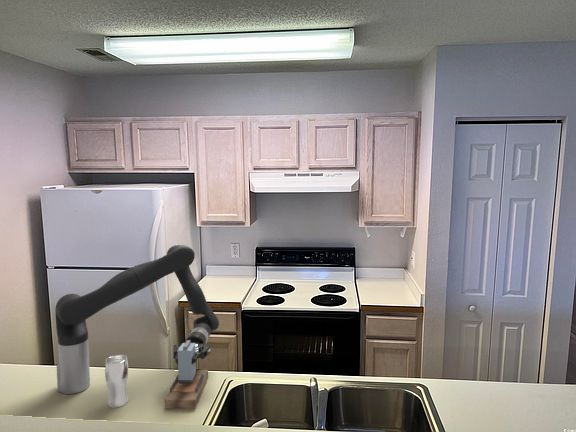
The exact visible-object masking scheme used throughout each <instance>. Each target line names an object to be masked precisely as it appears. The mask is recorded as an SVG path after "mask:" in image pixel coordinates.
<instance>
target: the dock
mask: <svg viewBox="0 0 576 432" xmlns="http://www.w3.org/2000/svg"><path fill="white" fill-rule="evenodd" d="M208 379H209V369H196V376H195V377H194V378H193V382H192V384H179V383H178V374H177V375H176V376H175V378H174V380H173V382H172V384H171V386H170V387H169V391H168V392H167V394H166V396H165V397H164V409H179V410H180V409H185V410H186V409H193V410H195V409H196V408H197V406H198V404H199V401H200V399H201V396H202V394H203V391H204V389H205V386H206V384H207V382H208Z"/></svg>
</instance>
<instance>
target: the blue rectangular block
mask: <svg viewBox="0 0 576 432" xmlns="http://www.w3.org/2000/svg"><path fill="white" fill-rule="evenodd" d="M179 347H180V348H179V350H178V364H177V365H178V366H177V368H178V369H177V372H178V373H177V375H178V383H179V384H192V382H193V378H194V377H195V376H196V370H197V367H196V366H197V365H196V364H197V362H196V363H194V364H192V357H193V355H194V354H195V351H196V343H191V340H187V341H186V343H184V342H183V343H181V344H180V346H179Z"/></svg>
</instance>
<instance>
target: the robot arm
mask: <svg viewBox="0 0 576 432" xmlns="http://www.w3.org/2000/svg"><path fill="white" fill-rule="evenodd" d="M195 255H196V253H195V251H194V250H193V248H191V247H190V246H188V245H180V244H177V245H171V247H169V248H168V250H167V251H166V255H165V254H164V256H161V257H159V258H157V259H154V260H150V261H148V262H146V261H145V262H143V263H140V264H136V265H134V266H132V267H129V268H126V269H125V270H123V271H121V272H119V273H118V274H115V275H114V276H113V277H112V278H110V279H109V280H108V281H106V282H105V283H104V284H103V285H102V286H100V287H99V288H97V289H95V290H93V291H91V292H89V293H87V294H84V295H79V294H77V293H68V294H65V295H63V296H61V297H60V298H59V300H58V301H57V302H56V304H55V308H54V310H55V327H56V336H57V346H58V364H57V365H56V385H57V392H60V393H62V394H64V395H73V394H77V393H80V392H83V391H85V390H87V389H88V388H89V387H90V386H91V378H90V377H91V375H90V372H91V371H90V370H91V369H90V350H89V349H90V347H89V331H88V327H87V322H86V320H88V319H89V318H91V317H92V316H94V315H95V314H96V313H99V312H100V311H101V310H103V309H105V308H107V307H109V306H111V305H113V304H114V303H117V302H119V301H121V300H123V299H125V298H127V297H129V296H131V295H133V294H135V293H137V292H139V291H141V290H143V289H145V288H147V287H149V286H150V285H152V284H154V283H155V282H157V281H159V280H161V279H162V278H164V277H166V276H168V275H171V274H173V273H174V275H175V276H176V278H177V279H178V281H179V283H180V286H181V288H182V291H183V293H184V295H185V297H186V300H187V303H188V305H189V308H190V310H191V313H192V314H193V315H203V316H201V317H197V318H196V319H195V320H194V321H193V322H192V323H193V329H192V331H190V332H189V334H188V335H187V337H186V338H185V340H184V342H183V343H186V341H187V340H191V343H196V351H195V354H194V355H193V357H192V364H194V363H196V364H197V362H198V360H199V359H201V360H203V359H206V357H208V356H209V354H210V353H211V351H212V350H211V345H210V344H209V345H207V343H208V341H209V340H208V339H209V338H210V336H211V333H212V332H214V331H216V330H218V329H219V327H220V320H219V318H218V317H217V315H216V314H215V312H214V311H213V310H212V309H211V307H210V305H209V304H208V302H207V300H206V297H205V294H204V292H203V289H202V288H201V286H200V285H199V282H198V281H197V279H196V278H195V276H194V275H193V273H192V271H191V268H190V266H191V265H192V264H193V262H194V261H195ZM180 347H181V346H178V345H177V344H174V345H173V350H172V351H173V353H172V354H173V359H175V361H174V362H175V363H176V365H178V350H179V348H180Z"/></svg>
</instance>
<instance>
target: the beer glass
mask: <svg viewBox="0 0 576 432" xmlns="http://www.w3.org/2000/svg"><path fill="white" fill-rule="evenodd" d="M104 365H105V366H104V367H105V369H104V374H105V376H104V377H105V382H106V387H107V392H108V399H107V406H108V407H110V408H113V409H114V408H115V409H116V408H120V407H122V406H125V405H126V404H127V403H128V400H129V399H128V395H127V385H128V377H129V362H128V356H127V355H125V354H115V355H111V356H109V357H107V358H106V359H105V364H104Z"/></svg>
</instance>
